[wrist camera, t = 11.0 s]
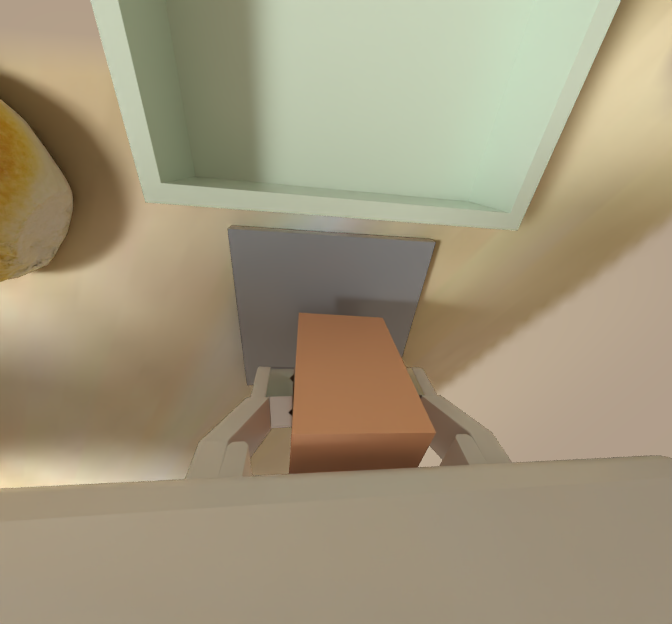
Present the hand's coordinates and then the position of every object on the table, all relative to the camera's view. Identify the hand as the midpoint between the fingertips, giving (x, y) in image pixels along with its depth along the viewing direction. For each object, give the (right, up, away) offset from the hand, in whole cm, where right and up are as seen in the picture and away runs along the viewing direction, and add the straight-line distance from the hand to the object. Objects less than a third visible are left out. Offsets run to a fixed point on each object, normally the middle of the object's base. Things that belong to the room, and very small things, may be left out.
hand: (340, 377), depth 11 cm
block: (0, +1, +2) cm, 2 cm away
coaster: (-1, +3, +4) cm, 5 cm away
